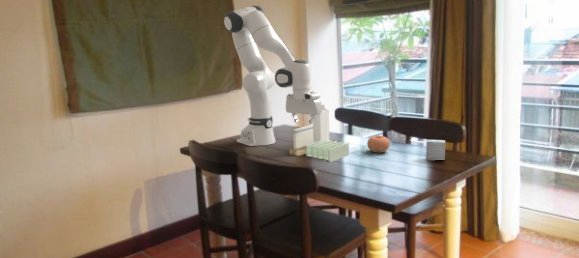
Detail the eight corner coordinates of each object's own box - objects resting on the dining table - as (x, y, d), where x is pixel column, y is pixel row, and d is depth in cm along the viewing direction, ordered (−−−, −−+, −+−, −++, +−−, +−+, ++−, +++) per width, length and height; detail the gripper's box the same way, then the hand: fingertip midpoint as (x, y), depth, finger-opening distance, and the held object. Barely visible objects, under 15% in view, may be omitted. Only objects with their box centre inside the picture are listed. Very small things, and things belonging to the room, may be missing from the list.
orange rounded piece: (380, 147, 237) (380, 132, 235) (394, 152, 227) (394, 136, 226) (362, 151, 232) (362, 135, 230) (376, 155, 222) (376, 139, 221)
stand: (288, 155, 228) (288, 147, 227) (309, 148, 239) (309, 141, 238) (297, 157, 224) (297, 149, 223) (319, 150, 235) (318, 142, 234)
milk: (320, 148, 239) (319, 106, 234) (313, 146, 244) (311, 104, 239) (329, 146, 242) (328, 104, 238) (322, 144, 247) (321, 103, 242)
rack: (306, 157, 223) (305, 145, 222) (325, 150, 234) (325, 139, 233) (329, 162, 214) (329, 149, 213) (348, 155, 225) (348, 142, 224)
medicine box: (444, 158, 214) (445, 140, 212) (444, 161, 209) (445, 142, 208) (426, 157, 216) (427, 139, 214) (426, 160, 212) (426, 141, 210)
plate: (293, 153, 227) (293, 129, 225) (311, 148, 236) (310, 124, 234) (296, 154, 226) (295, 129, 223) (313, 148, 235) (313, 125, 233)
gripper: (282, 94, 230) (283, 122, 233) (314, 96, 216) (315, 125, 219) (290, 92, 234) (292, 120, 237) (323, 94, 221) (324, 123, 223)
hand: (303, 122), depth 228 cm, fingers open, 8 cm apart
